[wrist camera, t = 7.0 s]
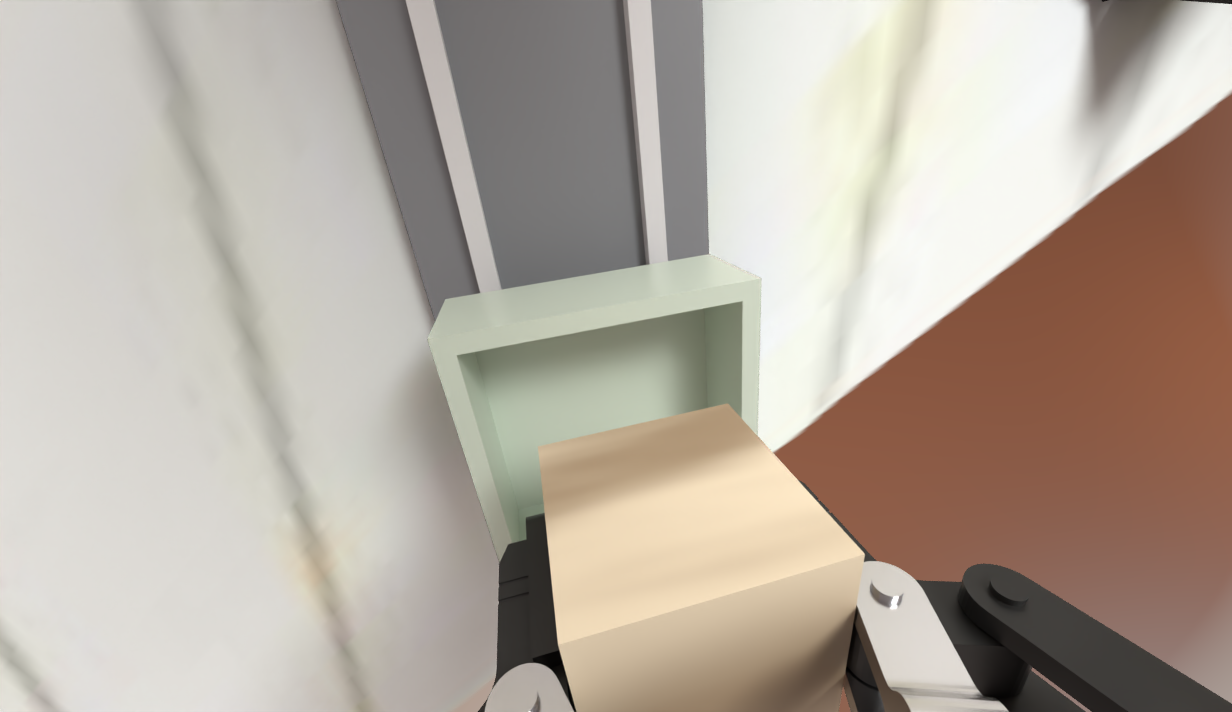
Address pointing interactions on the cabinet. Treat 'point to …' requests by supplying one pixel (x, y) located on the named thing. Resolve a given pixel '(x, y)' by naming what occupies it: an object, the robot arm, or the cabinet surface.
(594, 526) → the block
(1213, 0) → the dark piece
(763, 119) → the cabinet surface
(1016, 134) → the cabinet surface
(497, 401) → the mint green tray
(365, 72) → the track
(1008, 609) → the robot arm
